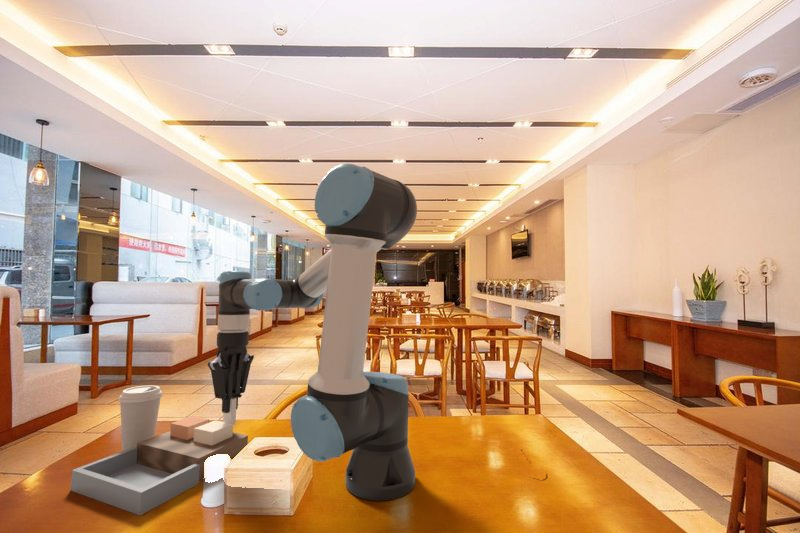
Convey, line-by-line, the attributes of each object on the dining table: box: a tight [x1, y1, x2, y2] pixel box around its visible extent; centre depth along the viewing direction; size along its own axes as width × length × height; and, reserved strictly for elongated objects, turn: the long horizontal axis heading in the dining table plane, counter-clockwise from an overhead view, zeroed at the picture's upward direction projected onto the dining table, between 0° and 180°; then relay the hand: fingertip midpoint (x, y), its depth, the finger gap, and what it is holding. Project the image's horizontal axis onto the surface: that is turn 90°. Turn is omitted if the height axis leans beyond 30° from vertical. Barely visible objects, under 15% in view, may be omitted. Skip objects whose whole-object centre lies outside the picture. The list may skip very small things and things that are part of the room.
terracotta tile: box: [169, 415, 210, 440], centre depth 93 cm, size 6×6×3 cm
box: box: [70, 447, 200, 516], centre depth 77 cm, size 21×12×4 cm, turn 68°
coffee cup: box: [117, 384, 164, 452], centre depth 96 cm, size 10×10×15 cm
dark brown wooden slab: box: [137, 430, 249, 483], centre depth 89 cm, size 20×14×5 cm
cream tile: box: [194, 419, 234, 445], centre depth 90 cm, size 6×6×3 cm
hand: (229, 424), depth 94 cm, fingers closed
